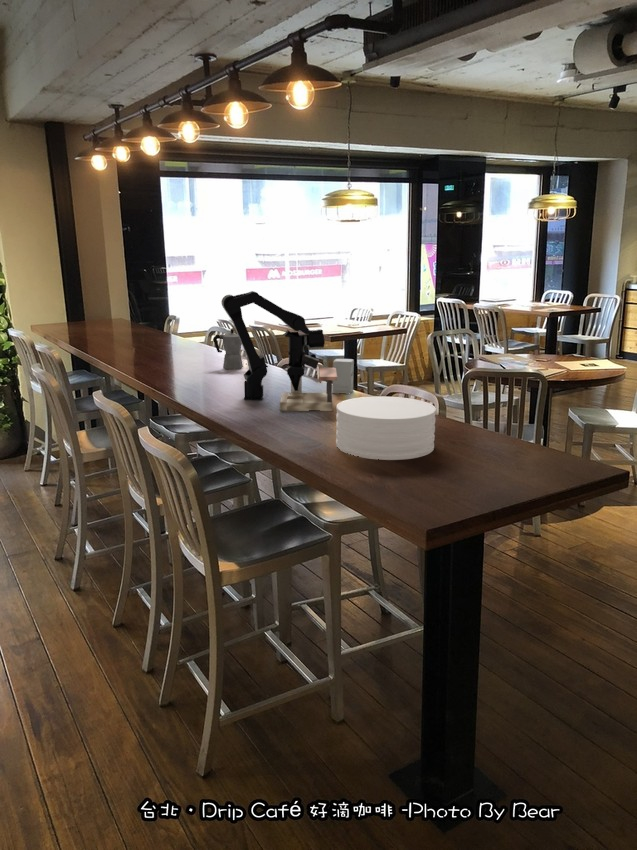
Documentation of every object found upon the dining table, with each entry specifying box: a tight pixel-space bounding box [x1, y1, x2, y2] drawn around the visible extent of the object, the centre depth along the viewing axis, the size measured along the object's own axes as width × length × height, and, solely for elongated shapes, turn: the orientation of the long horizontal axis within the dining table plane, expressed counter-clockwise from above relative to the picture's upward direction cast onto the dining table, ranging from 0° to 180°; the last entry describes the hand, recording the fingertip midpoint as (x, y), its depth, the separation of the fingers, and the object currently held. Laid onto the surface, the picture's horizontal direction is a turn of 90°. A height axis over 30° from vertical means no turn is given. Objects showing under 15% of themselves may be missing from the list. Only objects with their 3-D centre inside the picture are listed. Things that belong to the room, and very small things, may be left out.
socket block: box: [279, 367, 337, 412], centre depth 241 cm, size 20×18×12 cm
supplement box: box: [332, 358, 355, 395], centre depth 264 cm, size 7×7×13 cm
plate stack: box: [335, 395, 437, 461], centre depth 194 cm, size 28×28×12 cm
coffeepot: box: [212, 328, 244, 370], centre depth 314 cm, size 15×9×18 cm, turn 103°
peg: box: [290, 376, 303, 393], centre depth 257 cm, size 4×4×9 cm
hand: (296, 389), depth 257 cm, fingers closed on peg, 4 cm apart
